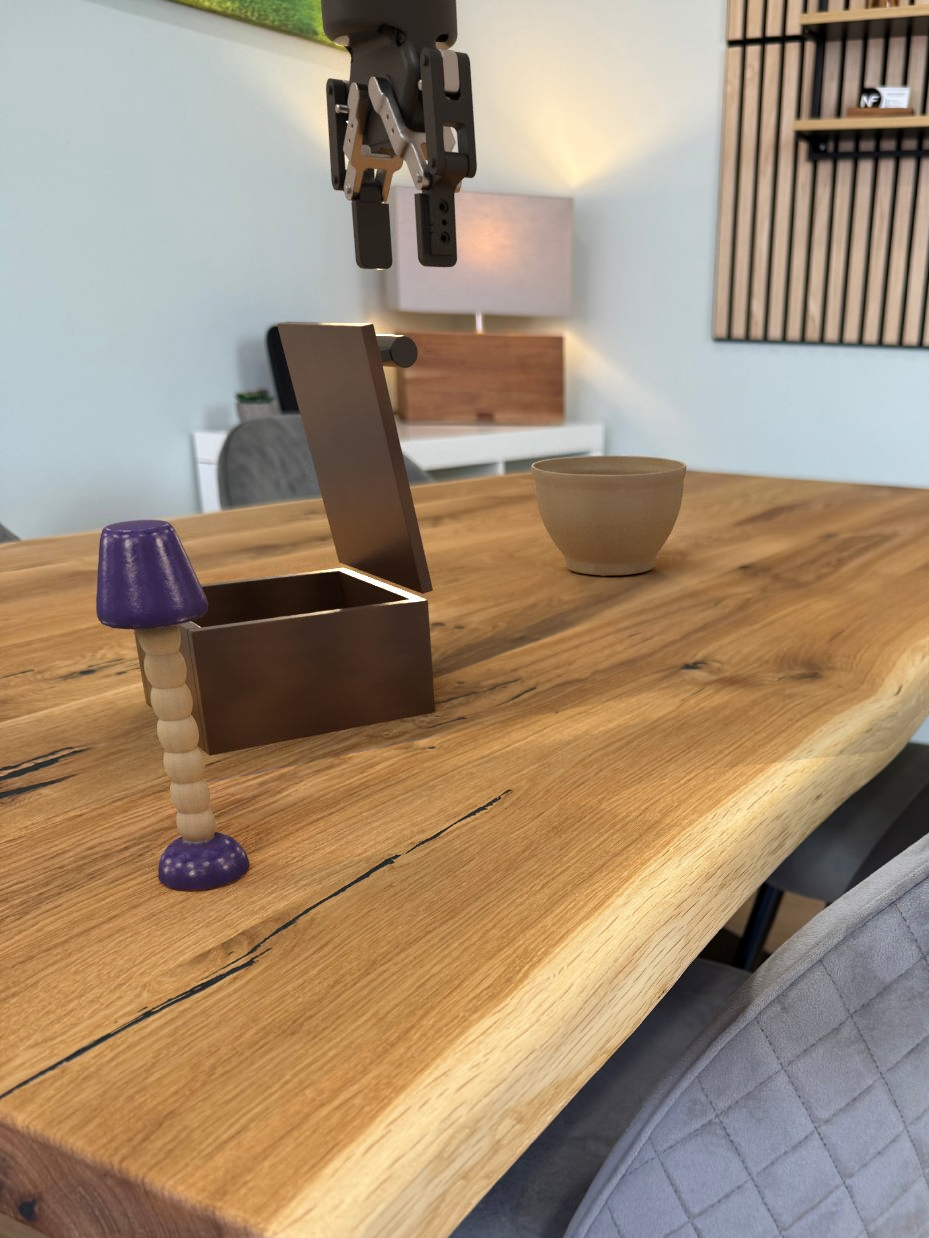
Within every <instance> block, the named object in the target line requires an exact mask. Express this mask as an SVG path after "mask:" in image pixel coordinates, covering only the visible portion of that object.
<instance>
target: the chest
mask: <svg viewBox="0 0 929 1238" xmlns="http://www.w3.org/2000/svg"><path fill="white" fill-rule="evenodd" d="M200 584H201V587H202V589H203V591H204V594H205V596H206V599H207V602H208V610H207V612H206V613H205V614H204V615H203V616H202V617H200V618H198V619H196V620H193V621H190V622H187V623H183V624H179V625H178V627H179V630H180V634H181V643H180V647H179V652H180V653H181V654H182V656H183V658H184V660H185V663H186V668H187V675H186V679H185V684H186V685H187V687H188V688H189V690H190V693H191V696H192V701H193V707H192V712H191V715H192V717H193V718H194V720H195V721H196V724H197V727H198V731H199V741H198V744H197V747H198V748H199V749H201V751H203V752H204V753H206V755H208V756H216V755H222V754H227V753H230V752H231V753H232V752H236V751H243V750H247V749H252V748H258V747H263V746H269V745H273V744H278V743H283V742H288V741H293V740H300V739H304V738H309V737H315V736H319V735H325V734H329V733H330V734H331V733H335V732H340V731H345V730H351V729H355V728H361V727H366V726H372V725H377V724H383V723H387V722H392V721H397V720H403V719H408V718H413V717H418V716H423V715H428V714H435V713H436V703H435V687H434V674H433V673H434V672H433V657H432V655H433V654H432V641H431V640H432V639H431V625H430V611H429V601H428V599H425V598H423V597H421V596H418V595H416V594H413V593H411V592H408V591H405V590H403V589H400V588H397V587H396V586H395V587H394V586H392V585H390V584H387V583H384V582H382V581H379V580H377V579H374V578H372V577H368V576H366V575H364V574H361V573H359V572H356V571H353V570H350V569H348V568H345V567H340V568H333V569H323V570H322V569H321V570H315V571H314V570H313V571H305V572H296V573H289V574H279V575H270V576H261V577H252V578H244V579H243V578H242V579H236V580H227V581H218V582H210V583H209V582H208V583H200ZM133 632H134V639H135V645H136V646H135V647H136V651H137V657H138V663H139V669H140V675H141V676H140V677H141V681H142V688H143V693H144V699H145V704H146V705H147V706H148V707H149V708H151V709H152V710H153V708H152V704H151V690H152V687H153V686H152V685H151V684H150V682H149V681H148V679H147V677H146V674H145V670H144V659H145V656H146V653H145V651H144V650H143V649H142V647H141V646H140V643H139V640H138V635H137V630H133Z"/></svg>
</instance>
